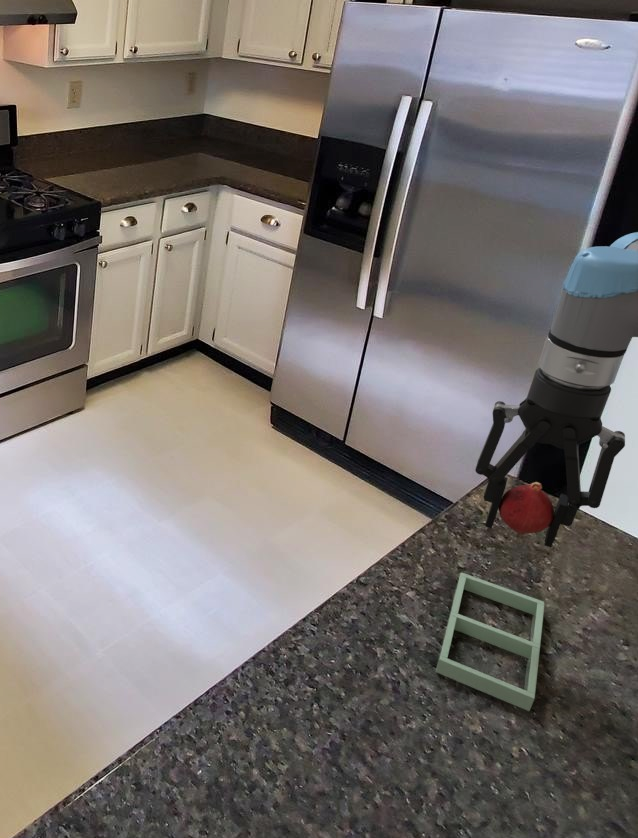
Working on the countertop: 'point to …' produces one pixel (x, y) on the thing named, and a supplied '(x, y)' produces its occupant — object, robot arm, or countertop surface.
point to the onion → (526, 509)
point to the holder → (494, 641)
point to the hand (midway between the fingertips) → (518, 531)
